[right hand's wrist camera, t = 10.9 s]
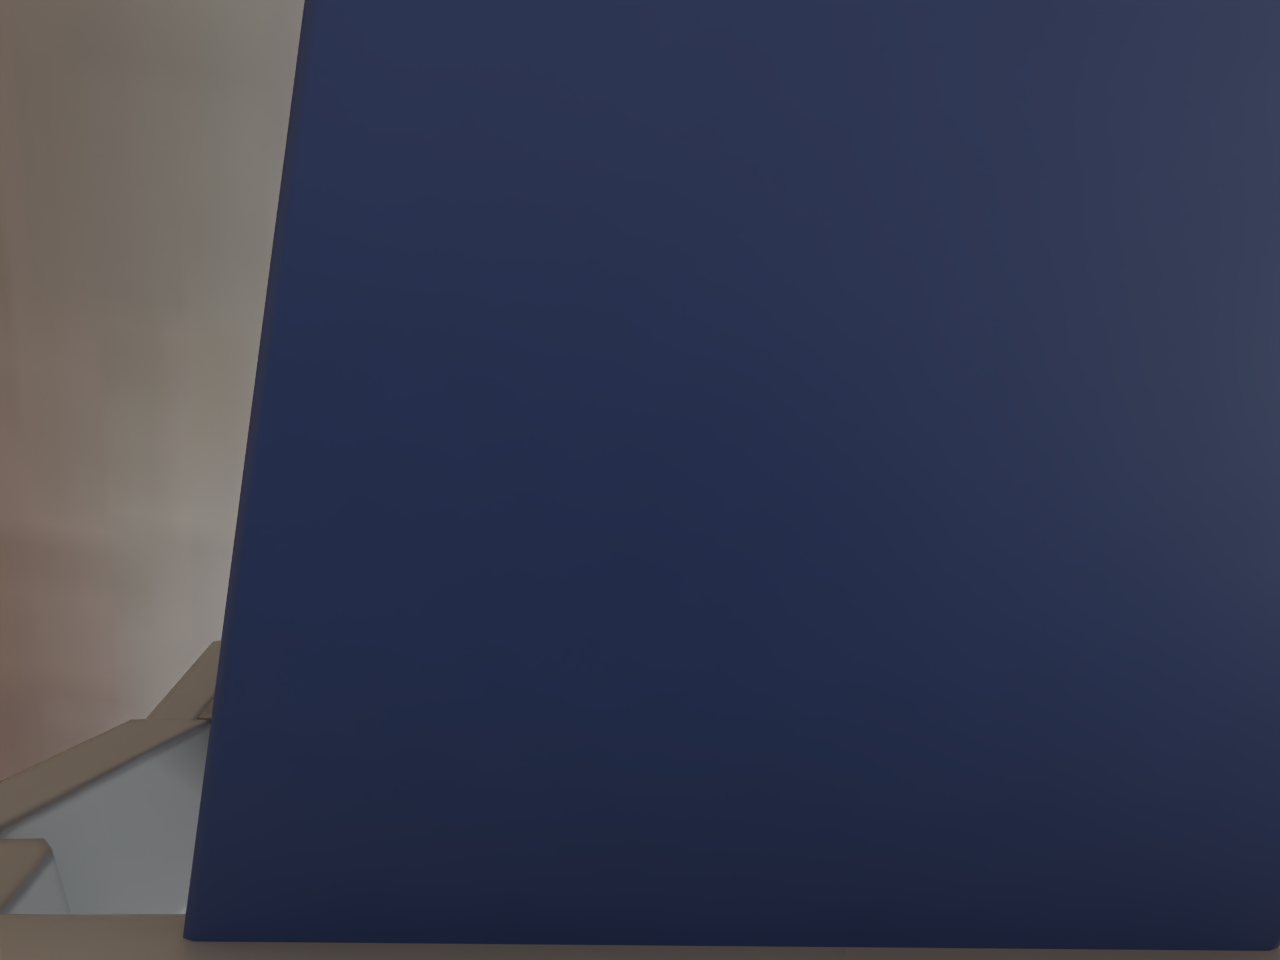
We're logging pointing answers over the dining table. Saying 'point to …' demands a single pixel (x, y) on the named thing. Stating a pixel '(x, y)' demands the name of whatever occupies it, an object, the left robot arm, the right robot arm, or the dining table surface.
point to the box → (761, 482)
